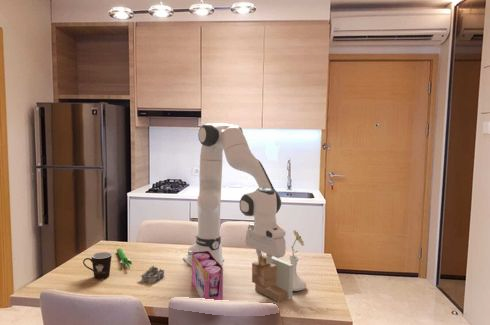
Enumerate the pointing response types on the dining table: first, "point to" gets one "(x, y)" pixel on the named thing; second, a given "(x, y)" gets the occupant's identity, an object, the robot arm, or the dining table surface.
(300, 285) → the flower in vase
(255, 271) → the wooden block
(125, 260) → the green onion
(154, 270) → the grey jagged rock
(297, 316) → the dining table surface
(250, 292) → the dining table surface
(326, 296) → the dining table surface
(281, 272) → the bookend
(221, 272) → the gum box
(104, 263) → the coffee mug
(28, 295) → the dining table surface
